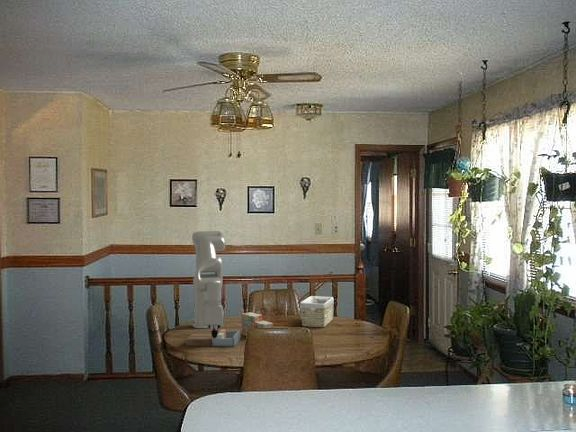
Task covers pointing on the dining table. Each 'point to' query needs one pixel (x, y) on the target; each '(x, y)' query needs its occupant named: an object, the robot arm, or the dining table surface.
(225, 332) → the peach block
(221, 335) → the cream tile
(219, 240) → the robot arm
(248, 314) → the stack of blocks
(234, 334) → the tray
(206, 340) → the walnut board
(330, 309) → the storage basket
